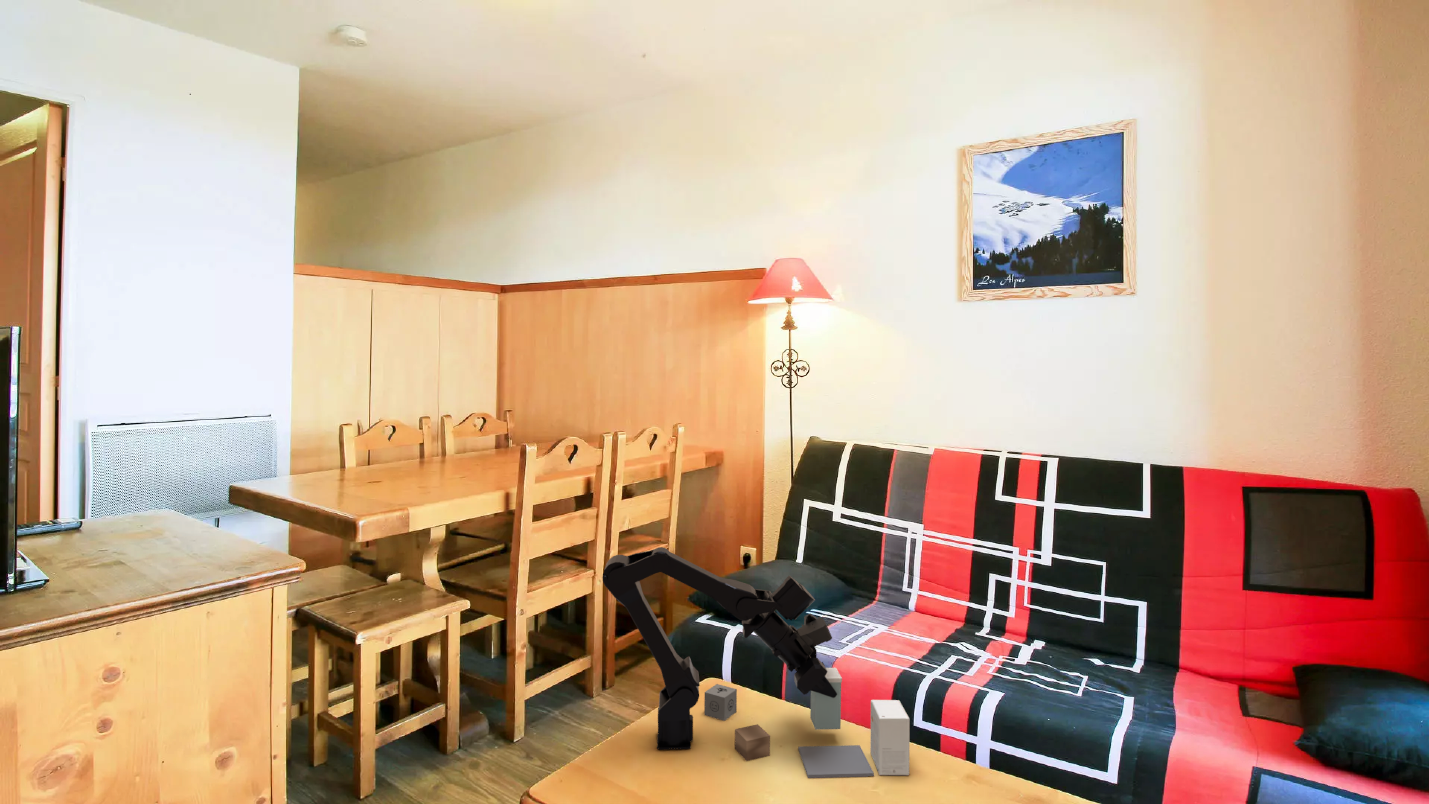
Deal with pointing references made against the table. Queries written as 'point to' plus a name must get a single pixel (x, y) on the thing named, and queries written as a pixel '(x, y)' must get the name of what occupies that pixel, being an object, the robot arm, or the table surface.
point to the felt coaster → (835, 761)
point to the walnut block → (752, 742)
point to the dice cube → (720, 702)
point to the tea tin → (827, 704)
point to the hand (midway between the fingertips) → (832, 690)
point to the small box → (890, 737)
